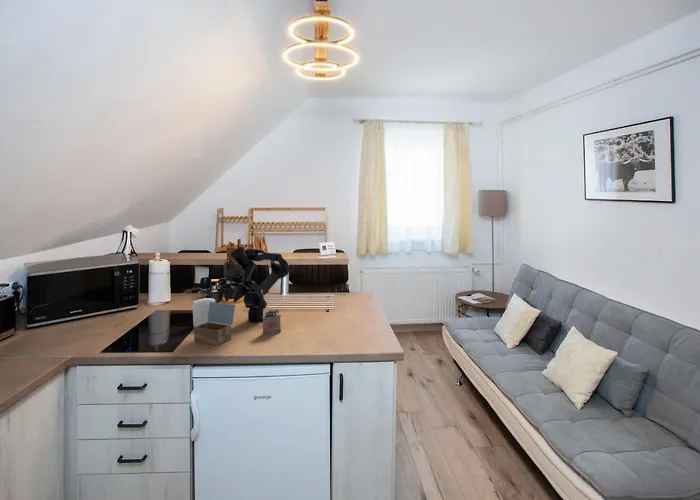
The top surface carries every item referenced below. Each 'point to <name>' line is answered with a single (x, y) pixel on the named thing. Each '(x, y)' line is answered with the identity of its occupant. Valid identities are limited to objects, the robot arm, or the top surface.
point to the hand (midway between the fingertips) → (229, 301)
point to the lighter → (271, 322)
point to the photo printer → (201, 311)
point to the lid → (221, 313)
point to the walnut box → (212, 333)
